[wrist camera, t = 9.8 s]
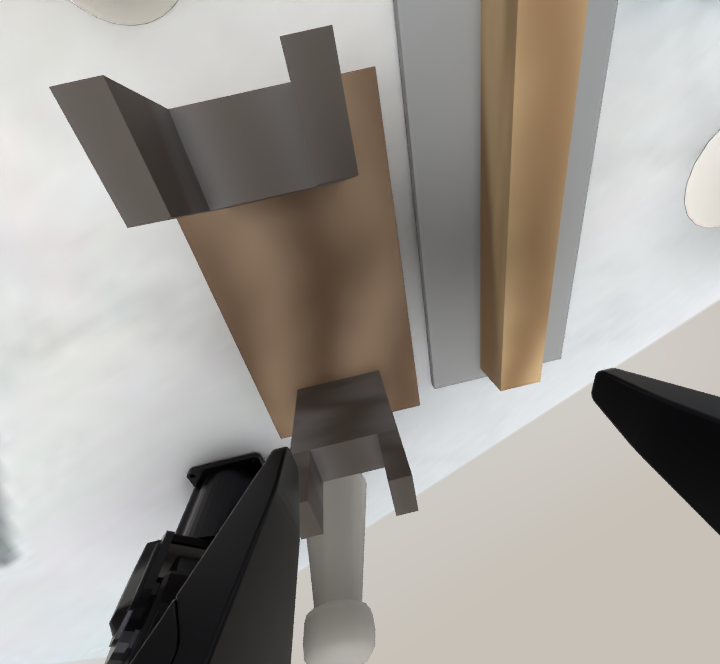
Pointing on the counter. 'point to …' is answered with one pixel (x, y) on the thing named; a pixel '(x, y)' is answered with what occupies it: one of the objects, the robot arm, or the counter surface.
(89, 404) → the counter surface
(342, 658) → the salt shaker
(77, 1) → the cylindrical container
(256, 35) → the counter surface
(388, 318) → the rail stand
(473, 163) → the grey mat
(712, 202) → the wineglass
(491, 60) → the oak rail
